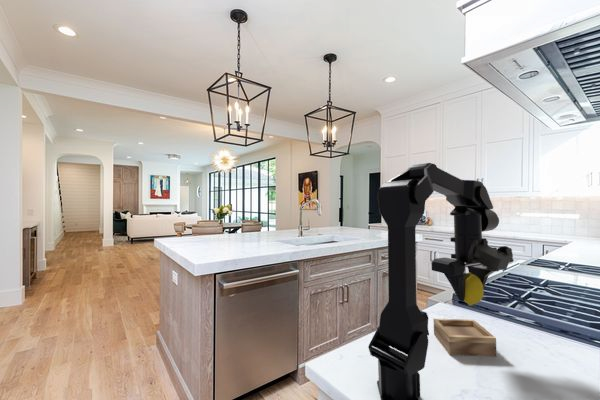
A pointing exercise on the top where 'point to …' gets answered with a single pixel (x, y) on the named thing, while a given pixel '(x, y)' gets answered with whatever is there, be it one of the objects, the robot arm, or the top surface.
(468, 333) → the tan open box
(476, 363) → the top surface
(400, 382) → the robot arm
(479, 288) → the lemon
